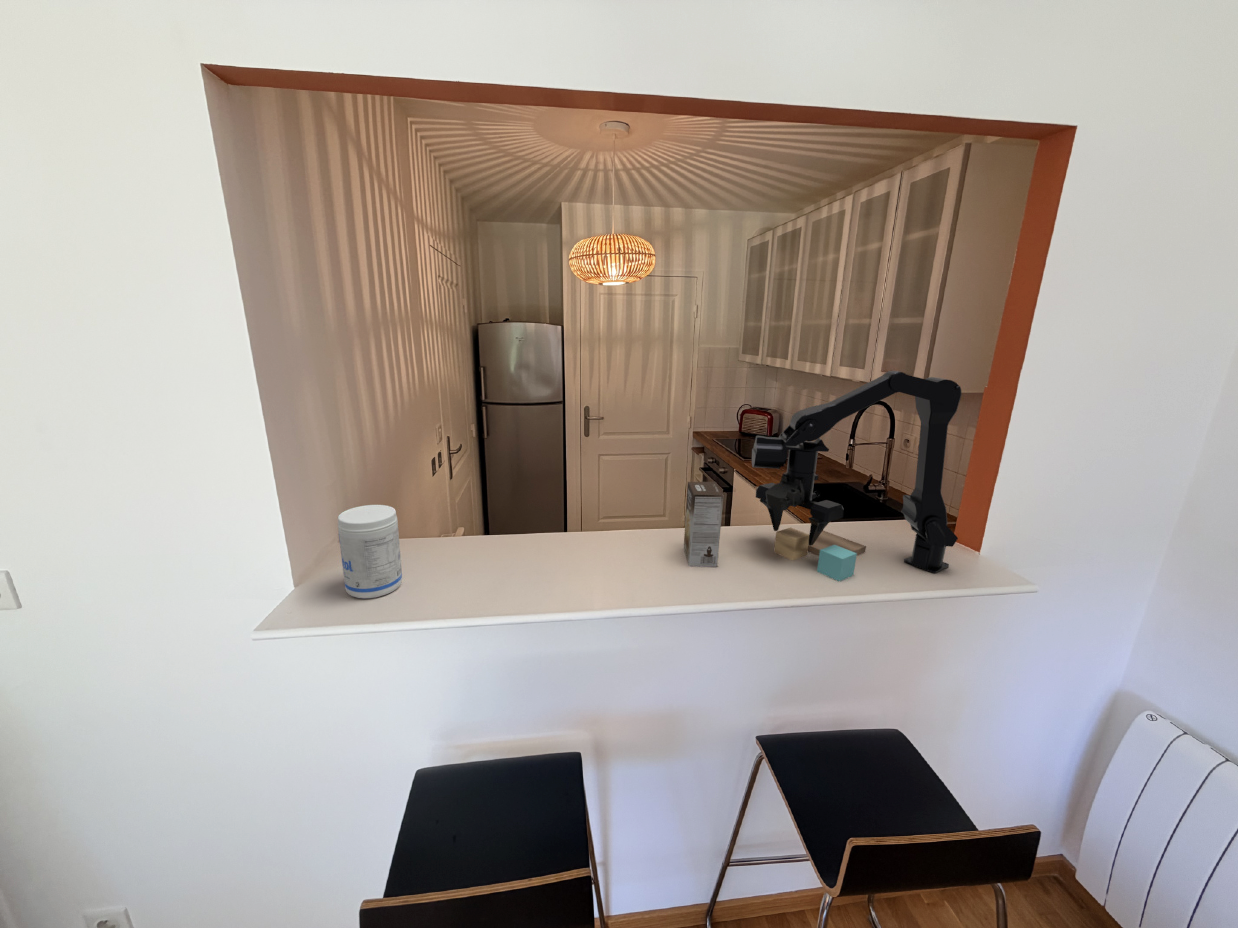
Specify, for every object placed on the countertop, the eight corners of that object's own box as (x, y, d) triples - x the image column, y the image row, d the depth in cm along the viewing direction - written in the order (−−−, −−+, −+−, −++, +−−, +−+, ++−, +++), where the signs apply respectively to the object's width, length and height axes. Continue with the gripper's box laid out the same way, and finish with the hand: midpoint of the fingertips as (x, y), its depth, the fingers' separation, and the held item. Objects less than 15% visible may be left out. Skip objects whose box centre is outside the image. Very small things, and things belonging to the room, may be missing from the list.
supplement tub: (337, 588, 90) (326, 513, 87) (388, 570, 97) (380, 500, 94) (360, 606, 84) (350, 527, 81) (413, 586, 92) (406, 512, 88)
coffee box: (682, 548, 111) (686, 480, 107) (710, 549, 111) (715, 481, 107) (688, 567, 102) (693, 493, 98) (718, 567, 102) (725, 494, 98)
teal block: (831, 566, 104) (834, 544, 103) (853, 575, 100) (856, 553, 99) (816, 571, 102) (820, 549, 100) (838, 581, 98) (842, 558, 96)
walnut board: (821, 537, 120) (822, 530, 120) (864, 554, 112) (866, 546, 111) (793, 547, 114) (794, 539, 114) (836, 565, 105) (837, 557, 105)
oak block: (788, 547, 113) (790, 527, 112) (806, 555, 109) (809, 534, 108) (773, 552, 110) (776, 531, 109) (792, 560, 106) (795, 539, 105)
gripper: (741, 464, 108) (735, 530, 112) (816, 486, 93) (806, 562, 97) (775, 458, 114) (768, 521, 118) (850, 478, 99) (839, 549, 103)
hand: (792, 537), depth 109 cm, fingers open, 9 cm apart
